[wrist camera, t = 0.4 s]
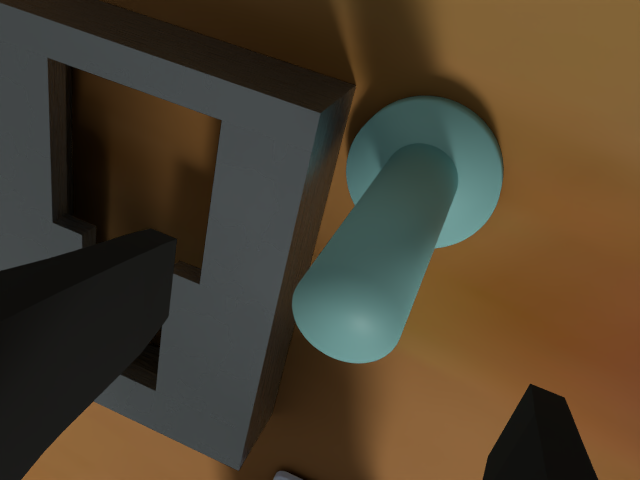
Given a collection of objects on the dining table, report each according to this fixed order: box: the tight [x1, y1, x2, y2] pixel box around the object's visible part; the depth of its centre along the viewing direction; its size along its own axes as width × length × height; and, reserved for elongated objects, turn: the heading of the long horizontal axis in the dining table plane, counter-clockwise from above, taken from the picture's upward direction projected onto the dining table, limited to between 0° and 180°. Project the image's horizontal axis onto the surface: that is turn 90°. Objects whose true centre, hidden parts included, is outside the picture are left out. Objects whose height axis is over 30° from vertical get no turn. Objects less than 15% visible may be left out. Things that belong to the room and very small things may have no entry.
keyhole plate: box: [0, 0, 356, 471], centre depth 23 cm, size 16×12×3 cm
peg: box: [292, 96, 504, 363], centre depth 16 cm, size 5×5×9 cm
